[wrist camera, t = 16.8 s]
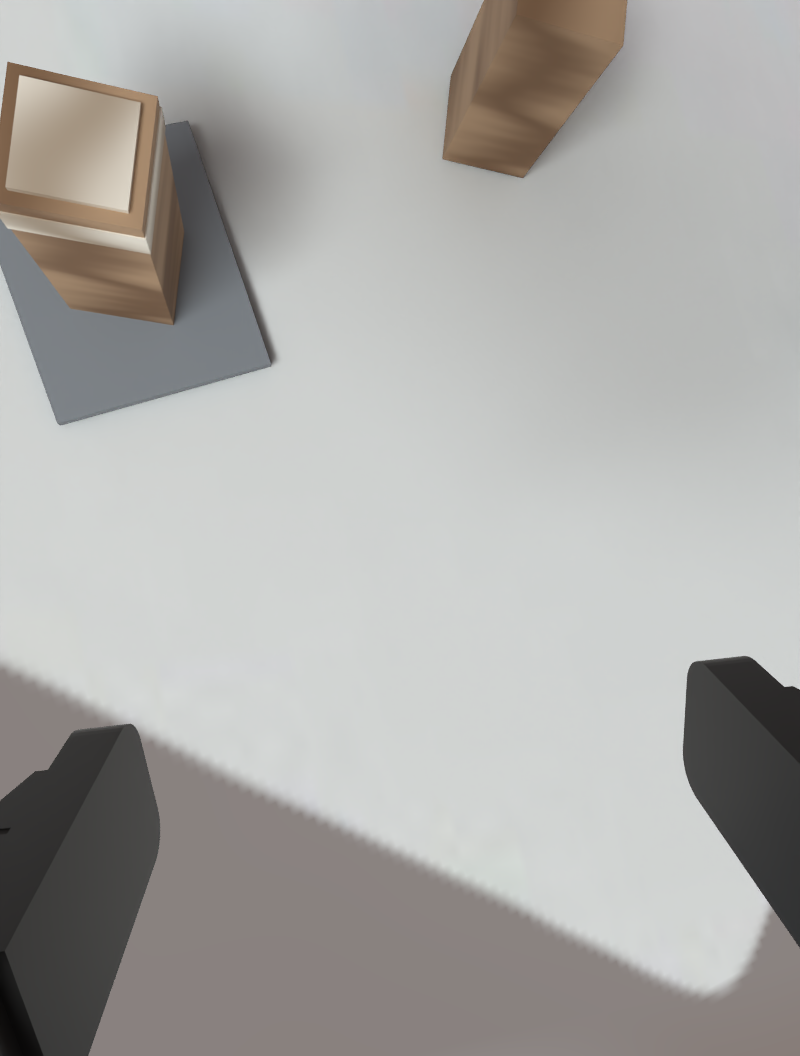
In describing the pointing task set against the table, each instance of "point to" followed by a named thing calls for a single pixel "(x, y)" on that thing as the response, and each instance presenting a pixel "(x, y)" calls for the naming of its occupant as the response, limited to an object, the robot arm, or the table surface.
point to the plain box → (526, 77)
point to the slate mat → (135, 345)
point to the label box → (92, 192)
